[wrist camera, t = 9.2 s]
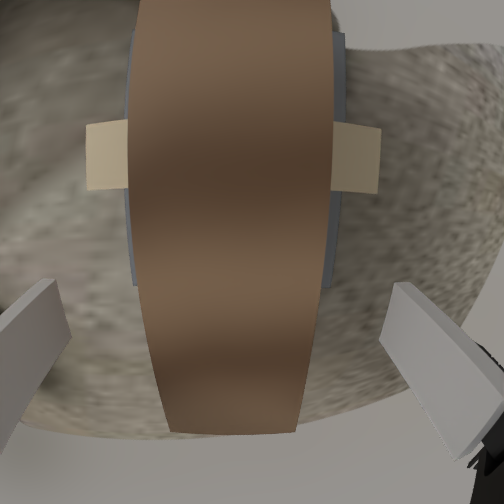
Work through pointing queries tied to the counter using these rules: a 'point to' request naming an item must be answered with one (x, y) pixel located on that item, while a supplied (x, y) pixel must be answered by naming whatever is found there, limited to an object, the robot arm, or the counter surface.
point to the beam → (230, 203)
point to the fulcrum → (343, 157)
